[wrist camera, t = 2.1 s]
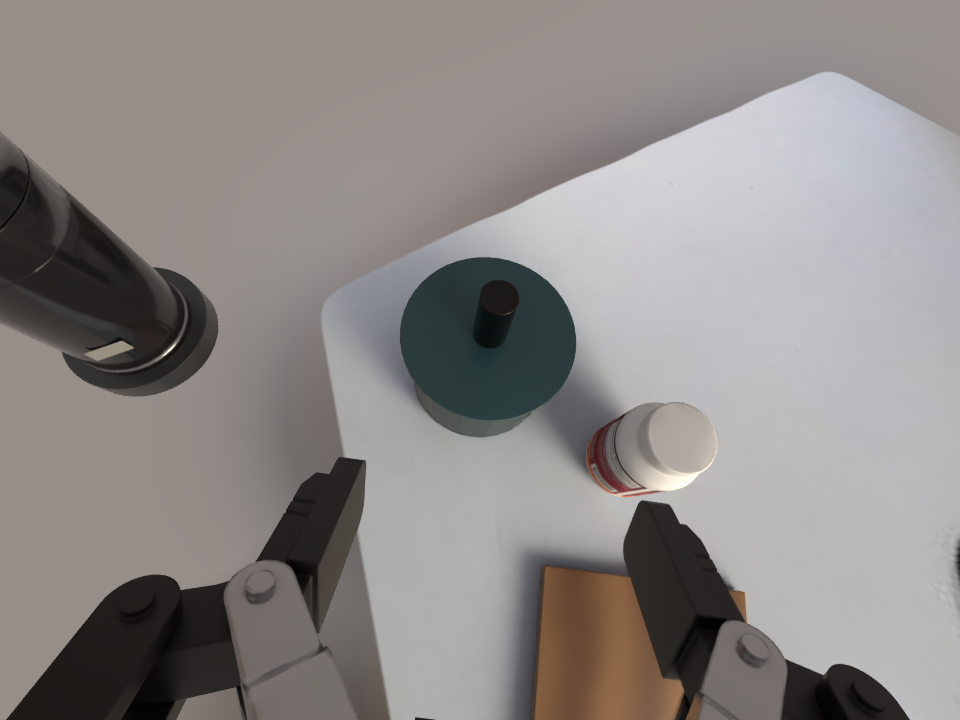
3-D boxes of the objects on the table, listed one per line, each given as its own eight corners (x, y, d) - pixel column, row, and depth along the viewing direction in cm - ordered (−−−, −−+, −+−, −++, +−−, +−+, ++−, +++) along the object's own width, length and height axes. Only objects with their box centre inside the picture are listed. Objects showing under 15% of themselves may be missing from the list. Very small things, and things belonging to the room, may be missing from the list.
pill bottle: (655, 434, 40) (732, 403, 29) (649, 505, 38) (730, 498, 27) (588, 417, 40) (641, 380, 29) (577, 487, 37) (631, 474, 27)
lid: (385, 409, 30) (372, 380, 24) (417, 253, 35) (413, 194, 29) (567, 436, 31) (599, 414, 25) (576, 278, 35) (605, 226, 29)
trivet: (525, 788, 30) (528, 797, 29) (541, 564, 35) (544, 565, 34) (752, 814, 31) (762, 823, 30) (737, 590, 36) (745, 592, 35)
